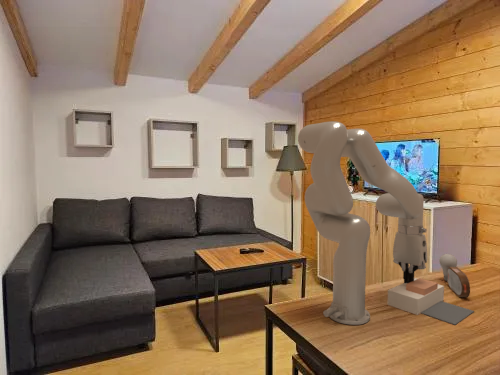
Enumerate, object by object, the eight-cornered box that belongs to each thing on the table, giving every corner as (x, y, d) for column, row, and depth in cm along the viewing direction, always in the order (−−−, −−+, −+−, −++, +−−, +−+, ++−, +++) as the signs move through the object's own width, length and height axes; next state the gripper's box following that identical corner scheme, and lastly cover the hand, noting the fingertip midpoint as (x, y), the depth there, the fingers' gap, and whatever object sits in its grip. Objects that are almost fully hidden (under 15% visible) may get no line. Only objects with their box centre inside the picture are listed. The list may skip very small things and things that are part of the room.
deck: (417, 315, 107) (418, 299, 107) (387, 304, 115) (387, 289, 115) (443, 300, 118) (444, 285, 118) (414, 291, 126) (414, 278, 126)
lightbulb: (439, 277, 141) (440, 251, 140) (457, 280, 137) (458, 253, 136) (437, 282, 136) (438, 254, 135) (455, 285, 132) (456, 257, 131)
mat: (455, 325, 101) (455, 324, 101) (420, 313, 109) (420, 312, 109) (474, 311, 109) (474, 311, 109) (440, 301, 117) (440, 300, 117)
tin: (470, 301, 118) (471, 277, 117) (460, 300, 118) (461, 276, 118) (454, 285, 132) (455, 263, 132) (445, 284, 133) (445, 263, 132)
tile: (424, 295, 110) (424, 289, 110) (406, 290, 115) (406, 284, 114) (437, 288, 116) (437, 283, 115) (419, 283, 120) (419, 278, 120)
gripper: (438, 231, 114) (436, 286, 115) (394, 225, 125) (393, 274, 127) (427, 235, 109) (425, 291, 111) (383, 227, 121) (382, 279, 122)
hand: (408, 282), depth 119 cm, fingers closed
